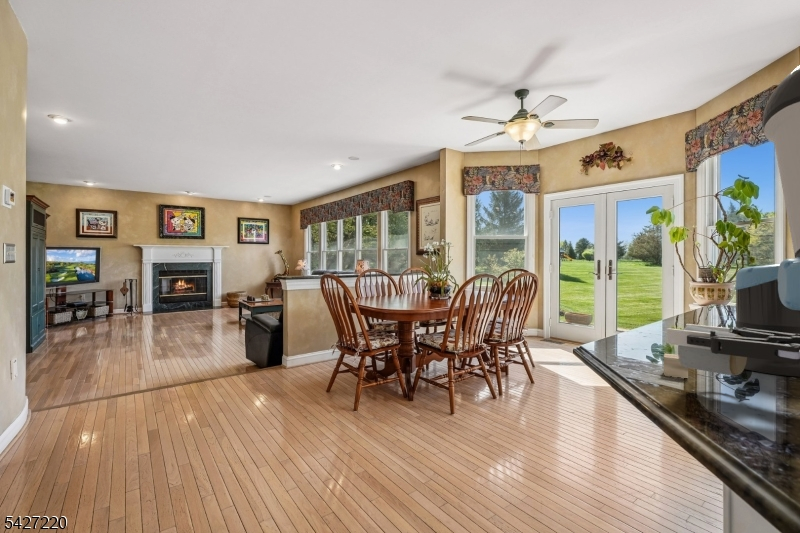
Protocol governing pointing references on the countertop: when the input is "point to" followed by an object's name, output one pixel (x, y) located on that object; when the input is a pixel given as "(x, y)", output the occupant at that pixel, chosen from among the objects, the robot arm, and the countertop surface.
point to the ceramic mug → (710, 357)
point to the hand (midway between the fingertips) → (677, 333)
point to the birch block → (674, 366)
